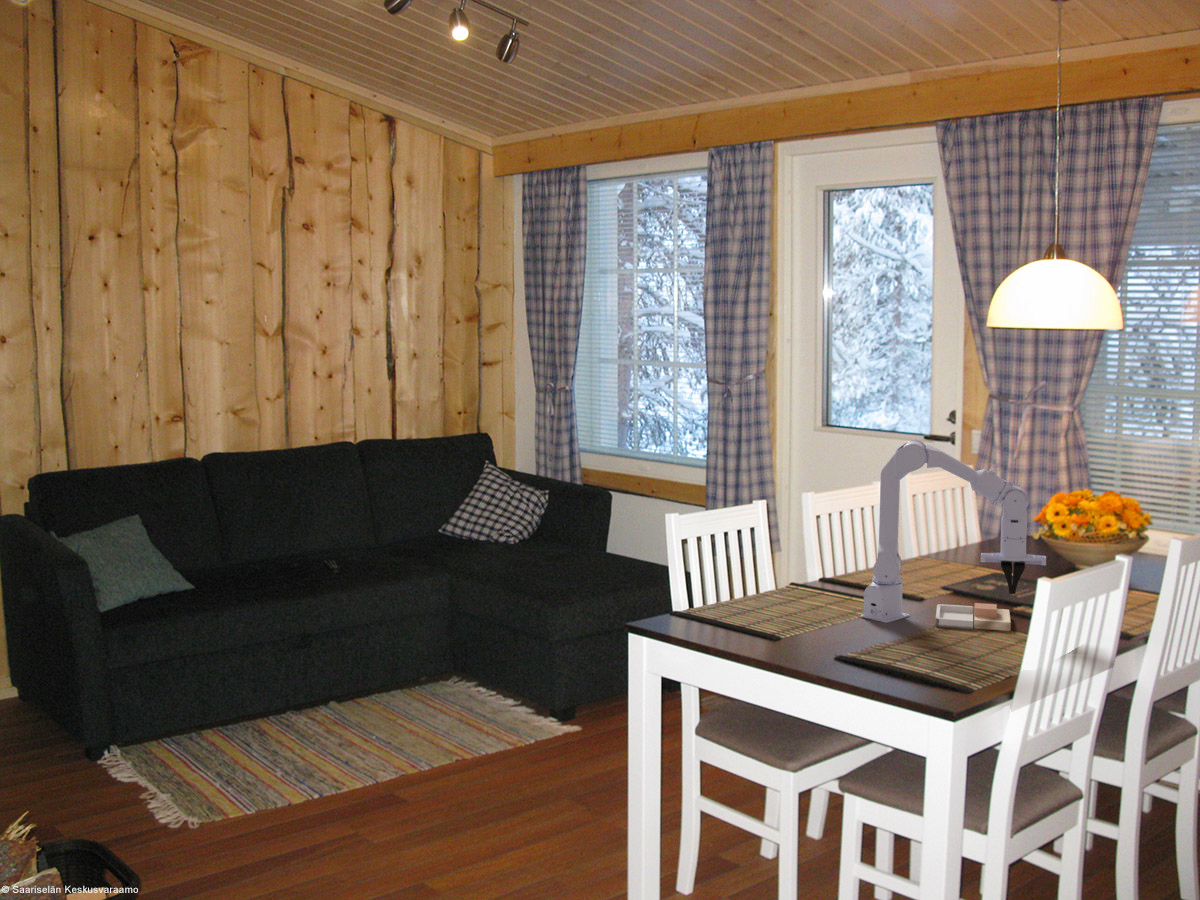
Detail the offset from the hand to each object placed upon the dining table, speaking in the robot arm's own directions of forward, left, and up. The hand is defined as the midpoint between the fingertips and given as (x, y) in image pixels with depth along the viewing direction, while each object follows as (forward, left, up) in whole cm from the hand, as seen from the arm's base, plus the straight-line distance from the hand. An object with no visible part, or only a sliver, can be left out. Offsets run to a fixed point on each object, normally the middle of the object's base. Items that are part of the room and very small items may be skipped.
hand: (1012, 593), depth 264 cm
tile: (-3, +5, -6) cm, 8 cm away
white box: (-2, +4, -8) cm, 9 cm away
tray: (-7, +11, -8) cm, 15 cm away
